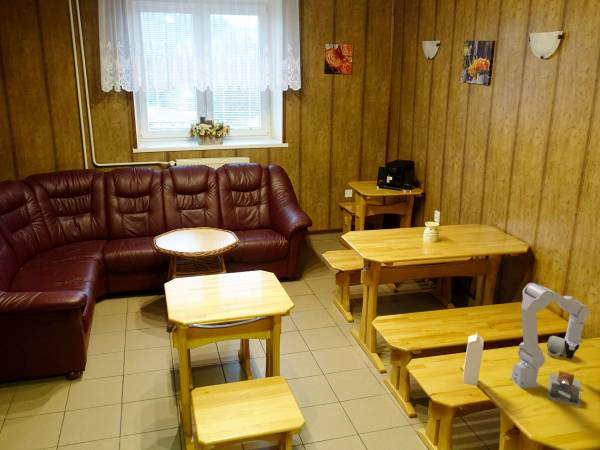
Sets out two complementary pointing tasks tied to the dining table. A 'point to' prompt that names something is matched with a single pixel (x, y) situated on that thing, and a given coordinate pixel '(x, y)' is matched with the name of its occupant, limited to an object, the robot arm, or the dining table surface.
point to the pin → (565, 378)
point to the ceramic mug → (556, 346)
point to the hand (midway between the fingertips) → (568, 357)
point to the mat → (563, 396)
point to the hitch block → (565, 388)
